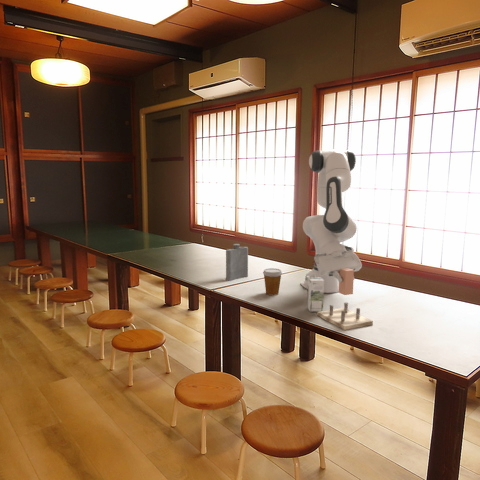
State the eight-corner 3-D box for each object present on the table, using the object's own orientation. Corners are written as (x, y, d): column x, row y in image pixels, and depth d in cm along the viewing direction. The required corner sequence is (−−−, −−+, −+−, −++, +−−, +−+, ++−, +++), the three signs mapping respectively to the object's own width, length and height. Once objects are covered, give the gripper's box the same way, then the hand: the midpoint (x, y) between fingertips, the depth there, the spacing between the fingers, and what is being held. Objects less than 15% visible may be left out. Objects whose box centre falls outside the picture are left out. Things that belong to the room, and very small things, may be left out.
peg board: (317, 315, 174) (317, 303, 173) (343, 310, 179) (344, 298, 178) (344, 330, 157) (345, 316, 157) (372, 324, 163) (373, 311, 162)
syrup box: (319, 307, 183) (321, 276, 181) (323, 312, 177) (324, 280, 175) (307, 308, 183) (308, 276, 181) (310, 312, 177) (311, 280, 175)
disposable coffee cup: (267, 289, 211) (267, 267, 209) (284, 292, 207) (284, 269, 205) (259, 294, 203) (260, 271, 201) (277, 297, 199) (278, 273, 197)
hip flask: (228, 281, 228) (228, 246, 225) (223, 279, 231) (223, 245, 228) (249, 276, 239) (249, 243, 235) (244, 275, 242) (244, 242, 238)
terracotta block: (338, 292, 167) (339, 268, 166) (346, 291, 169) (347, 267, 167) (344, 295, 164) (345, 270, 162) (352, 293, 165) (353, 270, 164)
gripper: (316, 250, 166) (329, 279, 158) (355, 247, 174) (370, 274, 167) (309, 259, 170) (322, 287, 163) (348, 255, 179) (362, 282, 172)
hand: (347, 280), depth 165 cm, fingers closed on terracotta block, 4 cm apart
